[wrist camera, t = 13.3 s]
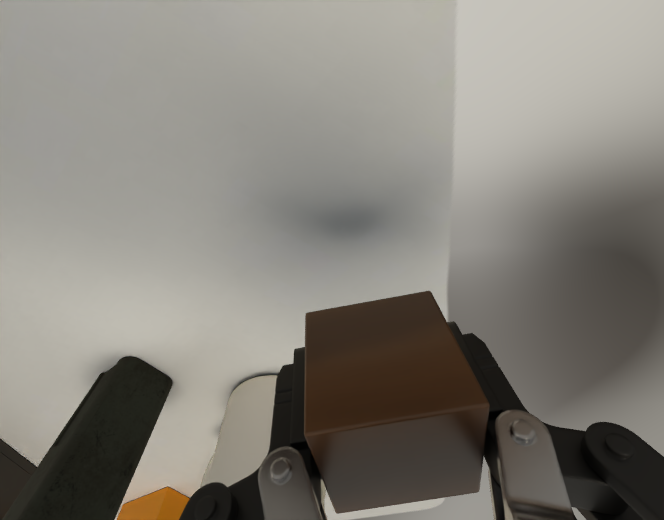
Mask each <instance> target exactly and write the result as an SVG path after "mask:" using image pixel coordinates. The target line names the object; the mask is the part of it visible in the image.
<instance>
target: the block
mask: <svg viewBox="0 0 664 520" xmlns="http://www.w3.org/2000/svg"><path fill="white" fill-rule="evenodd" d="M489 407H490V406H489V402H488V400H487V398H486V396H485V395H484V393H483V391H482V389H481V387H480V385H479V383H478V381H477V379H476V377H475V375H474V373H473V372H472V370H471V368H470V366H469V364H468V362H467V360H466V358H465V356H464V354H463V352H462V350H461V348H460V347H459V345H458V343H457V341H456V339H455V337H454V335H453V333H452V331H451V329H450V327H449V325H448V324H447V322H446V320H445V318H444V316H443V314H442V312H441V310H440V308H439V306H438V304H437V302H436V300H435V299H434V297H433V295H432V293H431V291H425V292H419V293H414V294H408V295H403V296H397V297H392V298H386V299H381V300H375V301H369V302H364V303H358V304H353V305H347V306H342V307H336V308H331V309H325V310H320V311H314V312H309V313H306V316H305V389H304V436H305V438H306V441H307V443H308V446H309V448H310V451H311V453H312V455H313V458H314V460H315V463H316V465H317V468H318V470H319V473H320V475H321V478H322V480H323V482H324V485H325V487H326V490H327V492H328V495H329V497H330V500H331V502H332V505H333V507H334V509H335V512H336V513H345V512H351V511H358V510H364V509H371V508H378V507H384V506H391V505H397V504H404V503H410V502H417V501H424V500H430V499H437V498H443V497H450V496H456V495H463V494H469V493H476V492H479V489H480V480H481V472H482V464H483V456H484V448H485V440H486V431H487V423H488V415H489Z"/></svg>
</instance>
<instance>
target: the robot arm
mask: <svg viewBox="0 0 664 520" xmlns="http://www.w3.org/2000/svg"><path fill="white" fill-rule="evenodd" d="M447 324H448V325H449V327H450V329H451V331H452V333H453V335H454V337H455V339H456V341H457V343H458V345H459V347H460V348H461V350H462V352H463V354H464V356H465V358H466V360H467V362H468V364H469V366H470V368H471V370H472V372H473V373H474V375H475V377H476V379H477V381H478V383H479V385H480V387H481V389H482V391H483V393H484V395H485V396H486V398H487V400H488V402H489V406H490V407H489V415H488V423H487V431H486V440H485V448H484V457H485V460H486V462H487V464H488V466H489V471H488V475H489V484H490V492H491V500H492V508H493V516H494V520H577V519H576V517H575V515H574V513H573V511H572V507H575V508H577V509H578V510H579V511H580V512H581V514H582V515H583V516H584V517H585V518H586V520H664V457H663V456H662V455H661V454H659V453H658V452H657V451H656V450H654V449H653V448H652V447H651V446H650V445H648V444H647V443H646V442H645V441H644V440H642V439H641V438H640V437H639V436H637V435H636V434H635V433H633V432H632V431H629V430H628V429H626V428H624V427H622V426H620V425H617V424H613V423H609V422H598V423H594V424H592V425H591V426H589V427H588V428H587V430H586V431H580V430H573V429H567V428H559V427H555V426H551V425H548V424H546V423H544V422H542V421H540V420H539V419H538V418H537V417H535V416H534V415H532V414H530V413H529V412H528V411H527V410H526V409H525V407H524V406H523V405H522V403H521V401H520V400H519V398H518V397H517V395H516V393H515V392H514V390H513V389H512V387H511V385H510V384H509V382H508V380H507V379H506V377H505V375H504V374H503V372H502V371H501V369H500V368H499V367H498V364H497V363H496V361H495V359H494V358H493V357H492V354H491V353H490V351H489V349H488V348H487V346H486V344H485V343H484V342H483V341H482V340H480V339H479V338H478V337H477V336H475V335H474V334H473V333H470V334H464V335H462V333H461V332H460V330H459V328H458V326H457V324H456V323H455V322H447ZM304 389H305V347H303V348H298V349H295V350H294V364H289V365H284V366H283V367H282V369H281V370H280V372H279V374H278V376H277V378H276V388H275V398H274V408H273V418H272V428H271V438H270V447H269V451H268V454H267V456H266V457H265V459H264V460H263V462H262V464H261V466H260V467H259V468H258V469H257V470H256V471H255V472H254V473H252V474H251V475H249V476H247V477H246V478H244V479H242V480H240V481H238V482H236V483H234V484H233V485H231V486H229V487H227V486H226V485H224V484H223V483H220V482H213V483H209V484H206V485H204V486H203V487H201V488H200V489H198V490H197V491H196V492H195V493H194V494H193V495H192V497H191V498H190V499H189V501H188V503H187V504H186V506H185V508H184V510H183V512H182V514H181V516H180V518H179V520H328V519H327V516H326V513H325V510H324V507H323V504H322V501H321V480H322V478H321V475H320V473H319V470H318V468H317V465H316V463H315V460H314V458H313V455H312V453H311V451H310V448H309V446H308V443H307V441H306V438H305V436H304Z"/></svg>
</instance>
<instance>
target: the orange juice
mask: <svg viewBox="0 0 664 520" xmlns="http://www.w3.org/2000/svg"><path fill="white" fill-rule="evenodd" d="M189 499H190V498H188V497H186V496H184V495H182V494H180V493H179V492H177V491H175V490H173V489H171V488H169V487H166V488H164V489H161V490H159V491H156V492H153V493H151V494H148V495H146V496H143V497H141V498H138V499H136V500H133V501H131V502H128V503H126V504H123V506H122V509H121V511H120V513H119V516H118V518H117V520H179V518H180V516H181V514H182V512H183V510H184V508H185V506H186V504H187V503H188V501H189Z"/></svg>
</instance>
